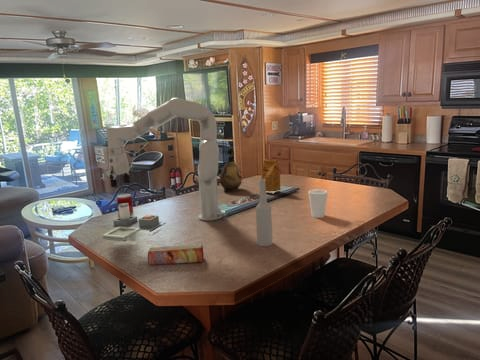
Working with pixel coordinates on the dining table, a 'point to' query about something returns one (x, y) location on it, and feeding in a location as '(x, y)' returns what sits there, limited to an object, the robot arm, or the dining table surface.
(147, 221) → the housing
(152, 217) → the tan rounded piece
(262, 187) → the bottle
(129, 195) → the canned food
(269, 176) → the coffee package
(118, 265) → the dining table surface
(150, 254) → the snack package
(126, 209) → the cylinder
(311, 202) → the foam cup
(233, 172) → the ceramic jug
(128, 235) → the tray
